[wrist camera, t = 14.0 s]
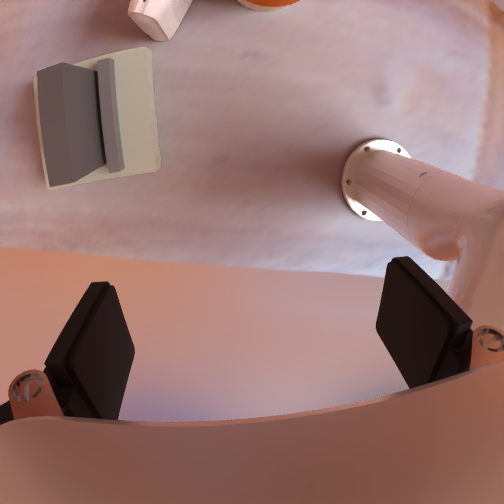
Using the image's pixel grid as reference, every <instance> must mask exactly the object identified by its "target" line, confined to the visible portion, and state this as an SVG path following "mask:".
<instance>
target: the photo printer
mask: <svg viewBox="0 0 504 504" xmlns="http://www.w3.org/2000/svg"><path fill="white" fill-rule="evenodd" d="M192 1H193V0H131V1H130V4H129V8H128V15H129V16H130V18H131V19H132V20H133V21H134V22H135V23H136V24H137V25H138V26H139V27H140V28H141V30H142V31H143V32H144V33H146V34H148V35H149V36H150V37H151V38H152V39H153V40H156V41H165V40H170V39H171V38H172V36H173V35H174V33H175V32H176V30H177V28H178V26H179V25H180V23H181V21H182V19H183V17H184V16H185V14H186V12H187V10H188V8H189V6H190V5H191V3H192Z"/></svg>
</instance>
